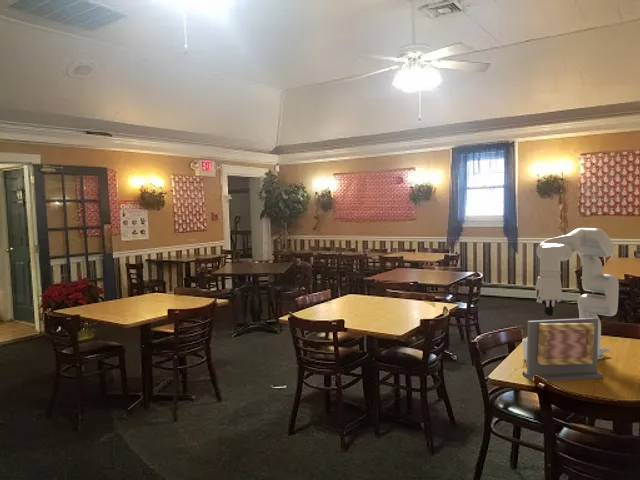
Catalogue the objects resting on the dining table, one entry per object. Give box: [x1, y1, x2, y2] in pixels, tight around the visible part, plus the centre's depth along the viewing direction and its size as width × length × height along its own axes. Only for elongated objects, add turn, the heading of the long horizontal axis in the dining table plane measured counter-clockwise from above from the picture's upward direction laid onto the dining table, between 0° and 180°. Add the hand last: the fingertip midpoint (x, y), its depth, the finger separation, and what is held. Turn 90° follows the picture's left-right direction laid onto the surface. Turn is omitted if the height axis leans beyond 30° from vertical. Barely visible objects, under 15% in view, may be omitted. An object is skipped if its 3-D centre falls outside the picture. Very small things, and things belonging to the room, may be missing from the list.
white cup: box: [522, 337, 527, 362], centre depth 246 cm, size 8×8×10 cm
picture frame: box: [537, 322, 595, 365], centre depth 219 cm, size 24×3×18 cm, turn 95°
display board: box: [522, 317, 604, 382], centre depth 222 cm, size 32×10×26 cm, turn 95°
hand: (548, 315), depth 217 cm, fingers closed
